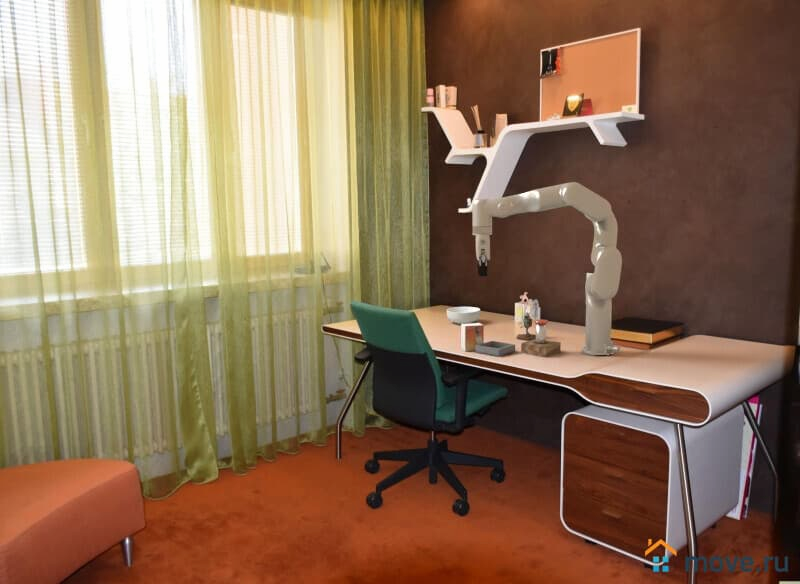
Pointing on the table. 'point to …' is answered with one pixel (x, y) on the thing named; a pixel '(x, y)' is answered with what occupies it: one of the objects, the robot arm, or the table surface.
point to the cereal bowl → (463, 314)
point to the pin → (541, 331)
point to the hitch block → (540, 348)
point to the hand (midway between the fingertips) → (482, 274)
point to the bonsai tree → (527, 324)
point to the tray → (495, 348)
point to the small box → (471, 336)
